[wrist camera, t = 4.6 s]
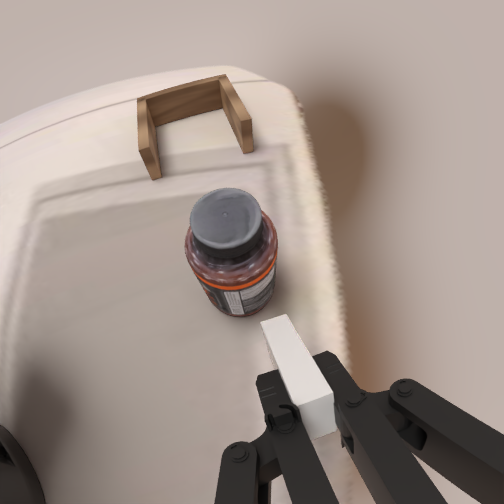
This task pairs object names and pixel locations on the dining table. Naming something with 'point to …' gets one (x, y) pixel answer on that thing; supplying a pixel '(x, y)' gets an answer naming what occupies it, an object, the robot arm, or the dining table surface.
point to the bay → (189, 114)
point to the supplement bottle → (232, 251)
